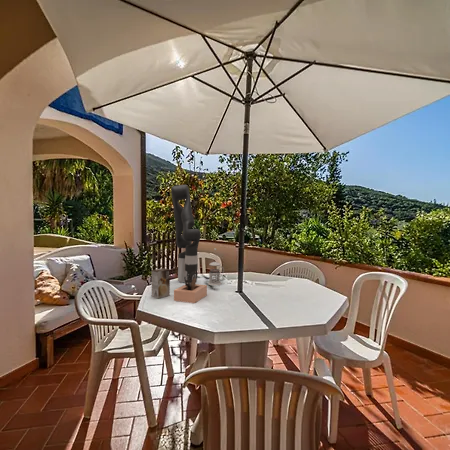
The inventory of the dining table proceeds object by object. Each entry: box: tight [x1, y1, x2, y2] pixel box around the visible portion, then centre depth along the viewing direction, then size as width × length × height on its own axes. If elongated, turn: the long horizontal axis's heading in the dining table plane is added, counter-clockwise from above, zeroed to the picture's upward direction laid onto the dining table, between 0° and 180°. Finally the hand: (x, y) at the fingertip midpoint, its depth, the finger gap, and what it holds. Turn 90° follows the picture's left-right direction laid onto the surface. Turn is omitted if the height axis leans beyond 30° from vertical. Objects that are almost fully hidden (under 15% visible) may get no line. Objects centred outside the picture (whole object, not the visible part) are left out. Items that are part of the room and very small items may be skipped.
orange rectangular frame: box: [173, 283, 208, 304], centre depth 187 cm, size 18×13×6 cm
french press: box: [207, 247, 225, 286], centre depth 223 cm, size 10×12×25 cm
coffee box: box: [151, 267, 171, 299], centre depth 189 cm, size 9×6×16 cm
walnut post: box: [186, 278, 197, 291], centre depth 187 cm, size 4×4×10 cm
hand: (191, 291), depth 187 cm, fingers closed on walnut post, 4 cm apart
